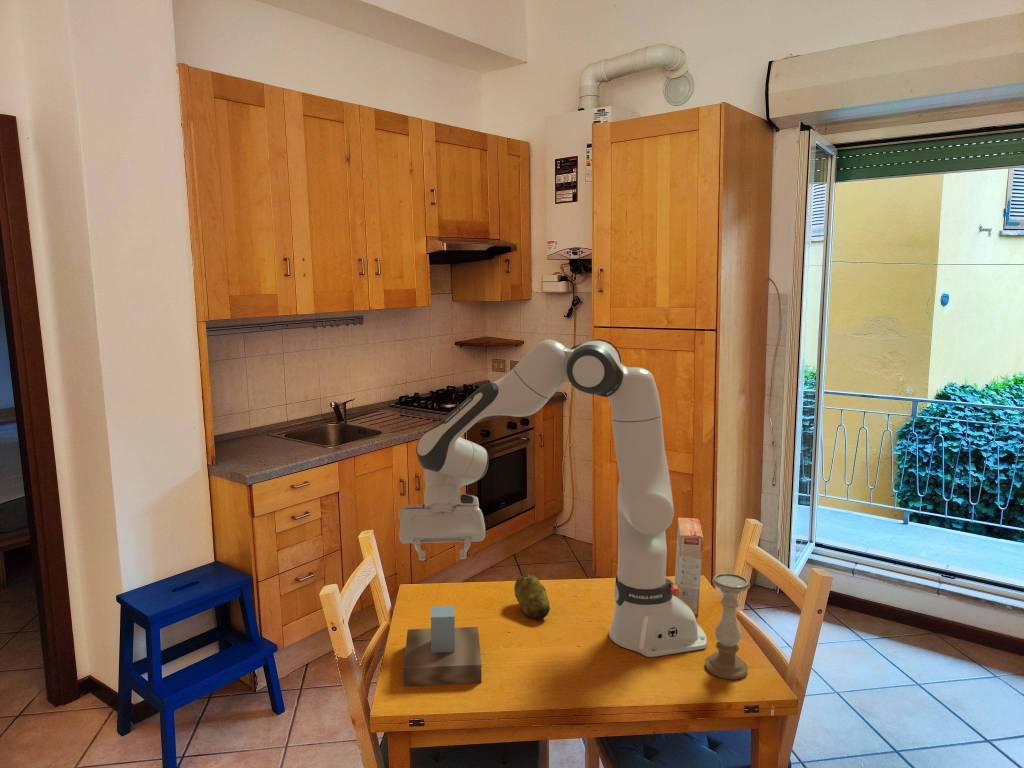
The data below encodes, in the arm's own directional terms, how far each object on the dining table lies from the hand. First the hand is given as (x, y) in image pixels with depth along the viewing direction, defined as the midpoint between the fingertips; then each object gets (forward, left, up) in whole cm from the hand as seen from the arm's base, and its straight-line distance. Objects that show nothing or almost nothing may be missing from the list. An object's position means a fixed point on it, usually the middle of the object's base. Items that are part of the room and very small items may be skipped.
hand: (442, 558), depth 160 cm
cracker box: (-63, -13, -19) cm, 67 cm away
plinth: (0, +11, -19) cm, 22 cm away
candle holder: (-61, +18, -19) cm, 67 cm away
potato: (-22, -11, -19) cm, 32 cm away
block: (0, +11, -15) cm, 19 cm away
